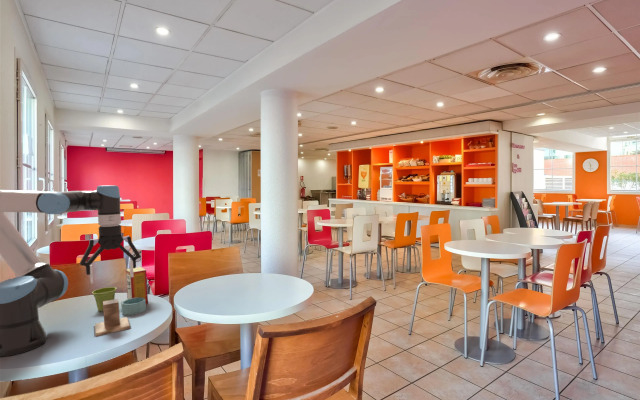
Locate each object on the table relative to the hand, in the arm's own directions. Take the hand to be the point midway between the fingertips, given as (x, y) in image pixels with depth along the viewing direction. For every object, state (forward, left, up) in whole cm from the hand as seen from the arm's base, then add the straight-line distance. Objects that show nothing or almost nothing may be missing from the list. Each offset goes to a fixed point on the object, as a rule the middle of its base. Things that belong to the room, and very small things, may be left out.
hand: (112, 279), depth 138 cm
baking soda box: (+11, +27, -19) cm, 35 cm away
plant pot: (-2, +26, -19) cm, 33 cm away
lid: (-1, -2, -18) cm, 18 cm away
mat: (-1, -2, -19) cm, 19 cm away
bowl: (+8, +13, -19) cm, 24 cm away
